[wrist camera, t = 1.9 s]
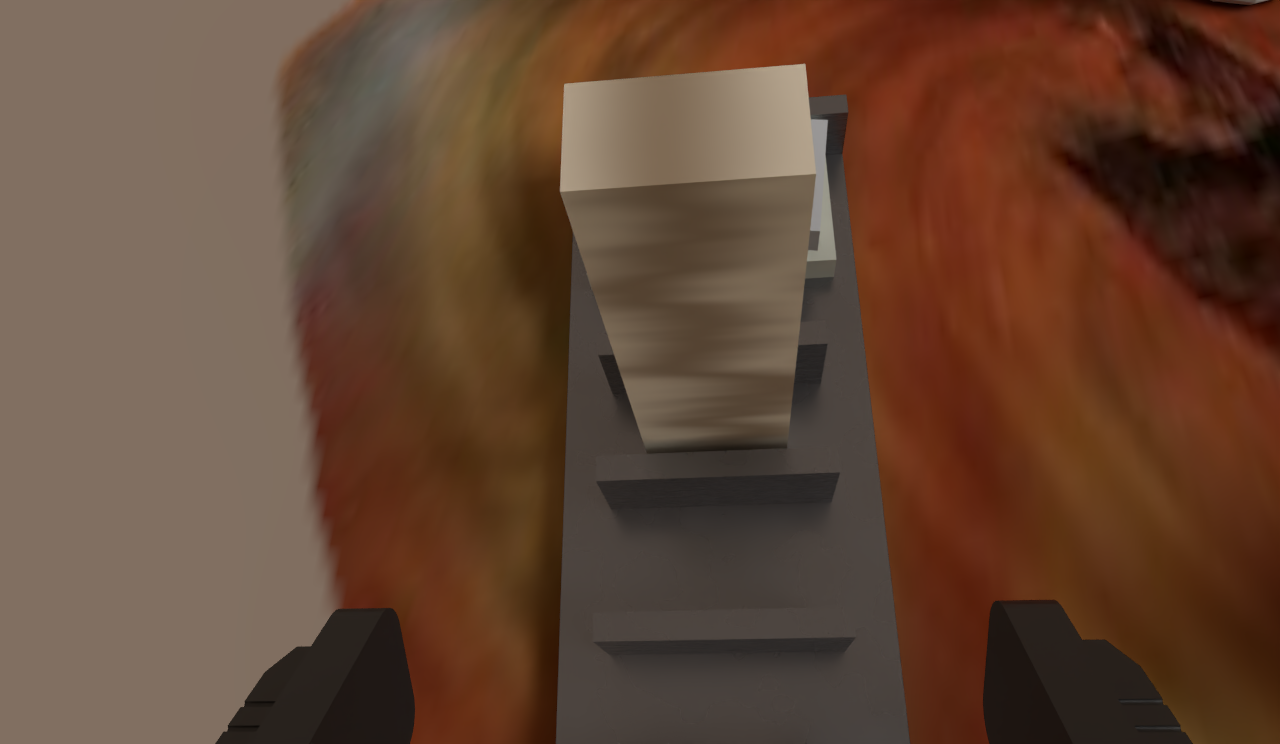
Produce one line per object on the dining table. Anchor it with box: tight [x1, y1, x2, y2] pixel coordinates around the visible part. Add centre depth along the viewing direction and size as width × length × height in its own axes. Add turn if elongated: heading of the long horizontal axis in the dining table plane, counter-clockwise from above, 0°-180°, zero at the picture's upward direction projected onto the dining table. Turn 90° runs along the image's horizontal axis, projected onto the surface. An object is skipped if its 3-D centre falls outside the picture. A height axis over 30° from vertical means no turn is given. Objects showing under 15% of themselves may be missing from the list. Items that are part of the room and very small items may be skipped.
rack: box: [556, 95, 910, 744], centre depth 37 cm, size 13×31×6 cm, turn 0°
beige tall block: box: [560, 64, 816, 454], centre depth 29 cm, size 6×3×20 cm, turn 90°
